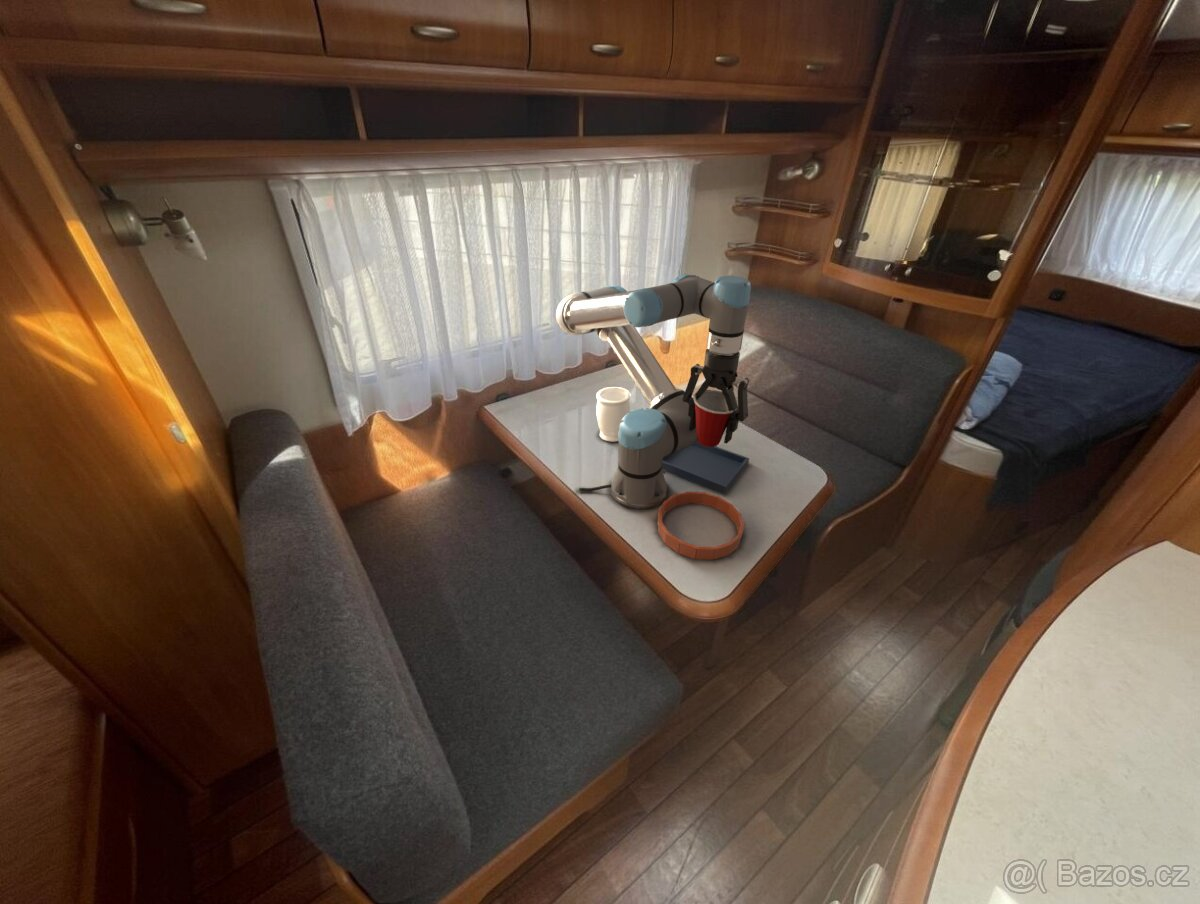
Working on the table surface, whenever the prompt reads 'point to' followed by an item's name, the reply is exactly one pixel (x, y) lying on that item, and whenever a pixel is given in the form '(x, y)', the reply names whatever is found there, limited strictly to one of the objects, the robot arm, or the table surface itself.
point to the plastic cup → (711, 417)
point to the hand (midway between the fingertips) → (710, 434)
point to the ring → (693, 550)
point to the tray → (706, 466)
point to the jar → (611, 411)
